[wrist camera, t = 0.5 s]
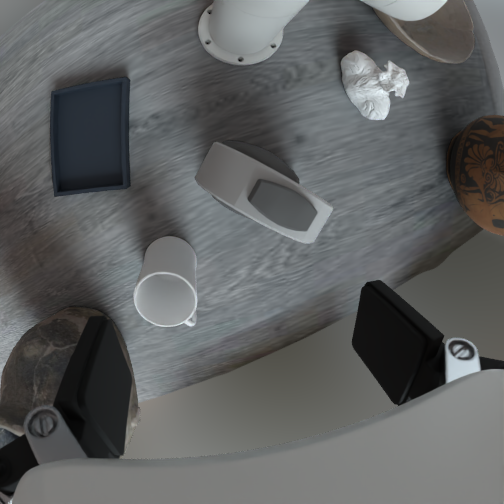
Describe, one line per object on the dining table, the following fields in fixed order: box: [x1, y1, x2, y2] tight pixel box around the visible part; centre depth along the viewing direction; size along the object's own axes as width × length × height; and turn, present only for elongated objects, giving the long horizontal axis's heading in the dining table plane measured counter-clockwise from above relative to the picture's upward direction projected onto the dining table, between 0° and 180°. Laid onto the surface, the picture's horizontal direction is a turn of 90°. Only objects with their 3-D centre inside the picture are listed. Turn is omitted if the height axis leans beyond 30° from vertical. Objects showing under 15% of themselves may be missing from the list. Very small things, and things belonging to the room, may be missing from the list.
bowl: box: [372, 0, 475, 63], centre depth 29 cm, size 26×26×10 cm
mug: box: [134, 236, 197, 327], centre depth 40 cm, size 12×8×12 cm
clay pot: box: [0, 306, 140, 459], centre depth 34 cm, size 22×23×30 cm
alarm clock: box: [195, 140, 333, 244], centre depth 34 cm, size 16×10×18 cm, turn 61°
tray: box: [50, 77, 131, 197], centre depth 34 cm, size 16×12×2 cm
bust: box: [341, 50, 409, 120], centre depth 35 cm, size 12×8×11 cm
